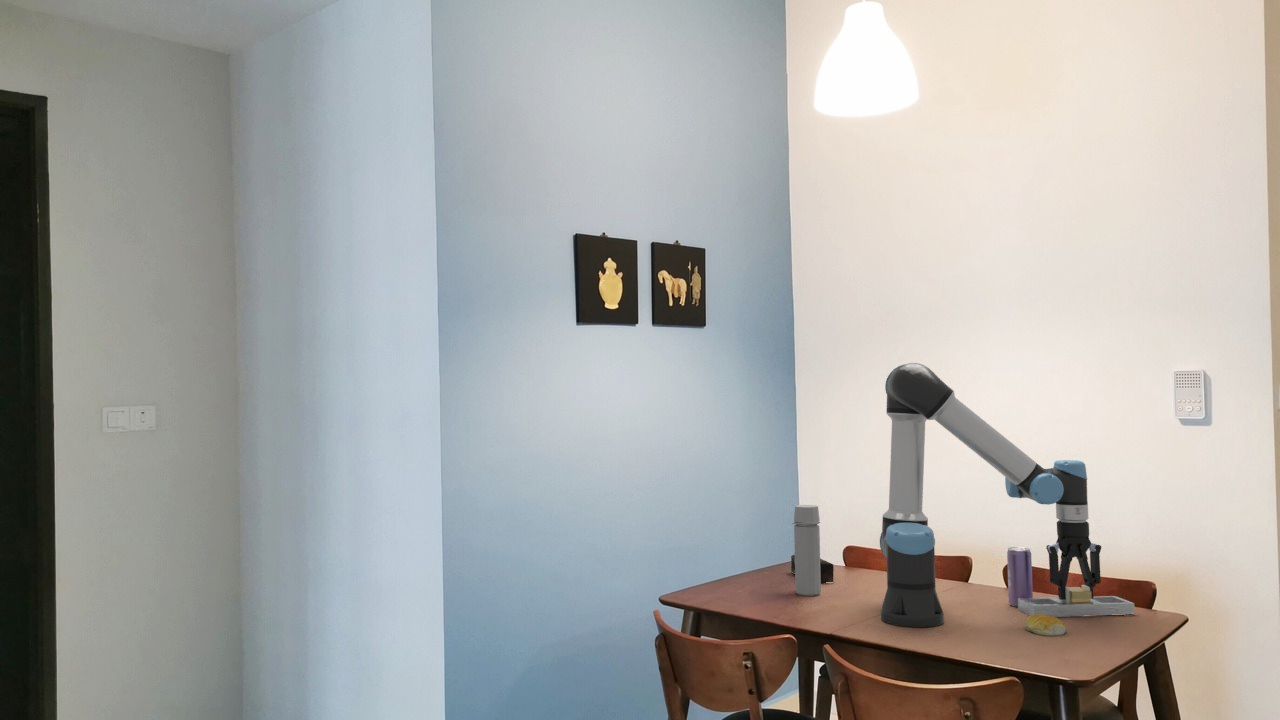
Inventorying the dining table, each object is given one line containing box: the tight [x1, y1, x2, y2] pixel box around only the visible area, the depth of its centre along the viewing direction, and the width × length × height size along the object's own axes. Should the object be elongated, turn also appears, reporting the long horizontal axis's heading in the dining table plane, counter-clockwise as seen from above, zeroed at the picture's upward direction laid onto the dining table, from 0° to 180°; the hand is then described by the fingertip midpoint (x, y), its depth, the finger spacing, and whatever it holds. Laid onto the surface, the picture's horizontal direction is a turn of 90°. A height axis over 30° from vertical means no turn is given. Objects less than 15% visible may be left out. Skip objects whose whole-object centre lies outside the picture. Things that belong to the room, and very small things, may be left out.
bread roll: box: [1024, 614, 1067, 637], centre depth 215 cm, size 8×9×4 cm
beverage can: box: [1006, 546, 1034, 608], centre depth 242 cm, size 6×6×15 cm
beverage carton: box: [790, 554, 835, 583], centre depth 283 cm, size 8×19×7 cm, turn 8°
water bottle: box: [791, 504, 822, 597], centre depth 261 cm, size 9×8×25 cm
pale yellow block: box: [1068, 586, 1092, 604], centre depth 233 cm, size 5×6×6 cm
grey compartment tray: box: [1017, 595, 1136, 618], centre depth 233 cm, size 26×8×3 cm, turn 92°
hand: (1076, 611), depth 233 cm, fingers open, 5 cm apart
